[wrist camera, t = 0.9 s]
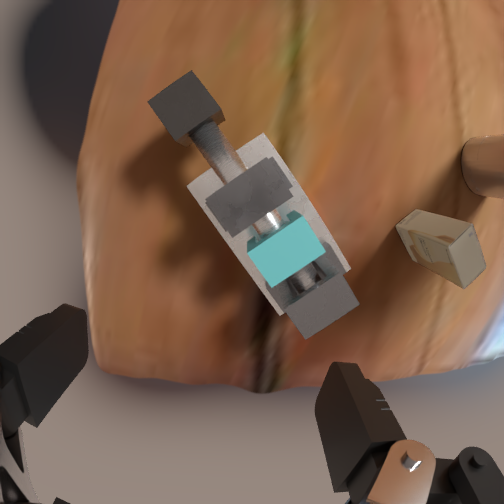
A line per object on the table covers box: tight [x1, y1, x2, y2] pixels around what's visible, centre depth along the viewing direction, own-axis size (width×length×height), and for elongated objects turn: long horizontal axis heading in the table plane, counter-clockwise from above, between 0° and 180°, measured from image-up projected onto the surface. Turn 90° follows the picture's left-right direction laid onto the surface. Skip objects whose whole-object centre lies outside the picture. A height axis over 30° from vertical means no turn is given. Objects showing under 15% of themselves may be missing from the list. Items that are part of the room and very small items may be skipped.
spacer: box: [247, 210, 326, 288], centre depth 30 cm, size 6×4×6 cm, turn 124°
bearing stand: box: [187, 133, 360, 340], centre depth 31 cm, size 11×20×11 cm, turn 34°
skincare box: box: [396, 209, 486, 289], centre depth 31 cm, size 6×4×12 cm
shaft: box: [148, 70, 322, 294], centre depth 29 cm, size 28×5×5 cm, turn 34°
